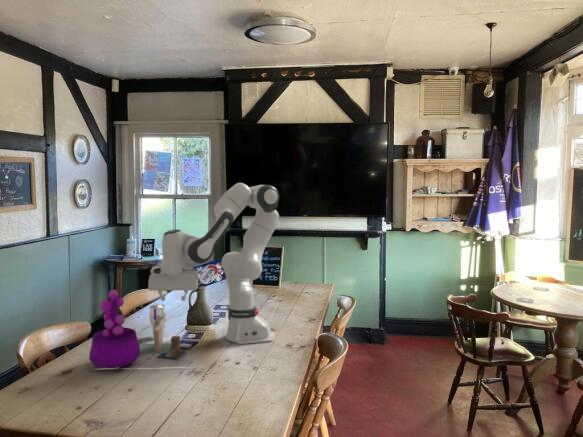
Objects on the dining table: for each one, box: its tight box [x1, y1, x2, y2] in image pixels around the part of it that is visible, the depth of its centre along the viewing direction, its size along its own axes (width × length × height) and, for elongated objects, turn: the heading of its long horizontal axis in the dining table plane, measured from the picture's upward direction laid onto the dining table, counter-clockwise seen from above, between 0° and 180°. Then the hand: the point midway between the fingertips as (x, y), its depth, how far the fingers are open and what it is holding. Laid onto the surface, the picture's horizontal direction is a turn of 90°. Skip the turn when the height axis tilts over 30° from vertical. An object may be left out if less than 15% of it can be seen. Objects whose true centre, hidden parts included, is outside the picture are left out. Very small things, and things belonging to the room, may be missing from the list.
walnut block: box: [170, 335, 181, 358], centre depth 198 cm, size 3×3×8 cm
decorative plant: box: [88, 289, 141, 369], centre depth 188 cm, size 19×18×30 cm
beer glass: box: [148, 304, 166, 340], centre depth 218 cm, size 7×7×15 cm
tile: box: [153, 325, 163, 351], centre depth 205 cm, size 2×7×9 cm, turn 3°
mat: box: [139, 342, 171, 355], centre depth 205 cm, size 18×12×1 cm, turn 93°
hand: (173, 300), depth 204 cm, fingers open, 7 cm apart
